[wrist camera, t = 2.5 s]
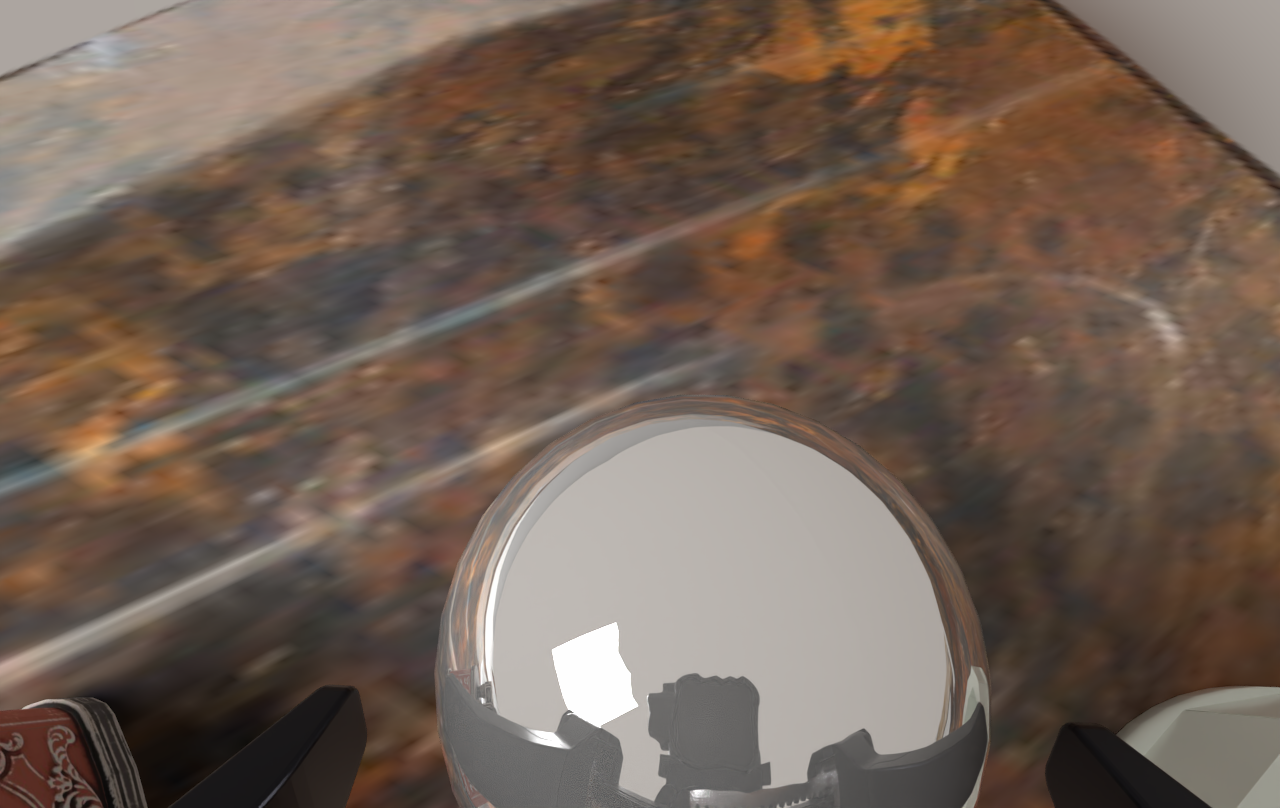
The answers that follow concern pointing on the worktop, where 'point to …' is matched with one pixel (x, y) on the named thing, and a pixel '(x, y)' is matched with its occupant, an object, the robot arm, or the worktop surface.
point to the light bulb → (710, 626)
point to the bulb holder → (1216, 744)
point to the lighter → (66, 757)
